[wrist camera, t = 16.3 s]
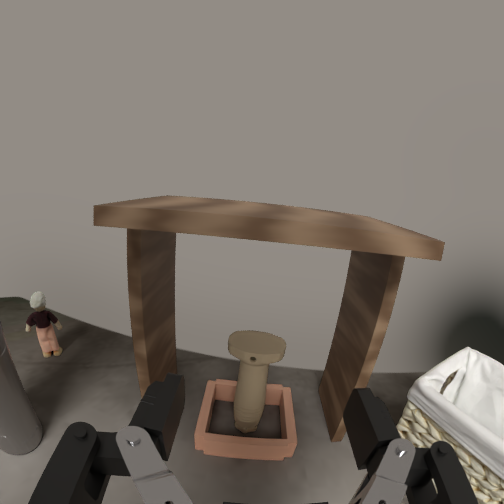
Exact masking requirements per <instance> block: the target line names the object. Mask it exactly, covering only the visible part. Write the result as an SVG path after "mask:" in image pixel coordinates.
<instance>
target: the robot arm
mask: <svg viewBox="0 0 504 504" xmlns="http://www.w3.org/2000/svg"><path fill="white" fill-rule="evenodd" d="M184 404H185V386H184V375H179V374H173V373H167V375H166V377H165V379H164V381H163V382H160V381H155V382H153V383H152V384H151V385H149V386H148V388H147V390H146V392H145V394H144V396H143V398H142V400H141V402H140V404H139V406H138V408H137V410H136V412H135V414H134V416H133V418H132V420H131V422H130V424H129V426H127V427H124V428H122V429H120V430H119V431H118V432H114V433H110V432H97V431H96V430H95V428H94V427H93V426H92V425H90V424H88V423H85V422H76V423H73V424H71V425H70V426H69V427H68V428H67V429H66V431H65V433H64V435H63V436H62V438H61V440H60V442H59V444H58V445H57V447H56V449H55V451H54V453H53V455H52V457H51V458H50V460H49V462H48V464H47V466H46V468H45V470H44V472H43V474H42V476H41V478H40V480H39V482H38V484H37V486H36V488H35V490H34V492H33V494H32V496H31V499H30V501H29V503H28V504H101V503H102V500H103V497H104V494H105V491H106V488H107V485H108V482H109V479H110V476H111V475H117V476H131V477H132V479H133V481H134V483H135V485H136V487H137V489H138V491H139V493H140V495H141V497H142V499H143V501H144V503H145V504H193V502H192V501H191V499H190V498H189V497H188V495H187V494H186V492H185V491H184V489H183V488H182V486H181V485H180V483H179V482H178V480H177V478H176V477H175V475H174V474H173V473H172V472H171V471H169V470H168V468H167V467H166V465H165V463H164V461H163V460H165V461H168V459H169V455H170V452H171V449H172V445H173V442H174V439H175V435H176V432H177V429H178V426H179V422H180V419H181V416H182V413H183V409H184ZM343 421H344V424H345V427H346V431H347V434H348V437H349V440H350V444H351V447H352V450H353V454H354V457H355V460H356V464H357V467H358V470H361V469H367V471H368V473H367V474H366V475H365V477H364V479H363V481H362V482H361V484H360V486H359V488H358V489H357V491H356V493H355V494H354V496H353V498H352V499H351V501H350V502H349V504H401V502H402V500H403V497H404V495H405V492H406V495H407V498H408V502H409V504H479V503H478V500H477V498H476V496H475V493H474V491H473V489H472V486H471V484H470V482H469V480H468V478H467V475H466V473H465V471H464V469H463V467H462V465H461V463H460V461H459V459H458V457H457V455H456V453H455V451H454V449H453V447H452V446H451V445H450V444H449V443H448V442H445V441H436V442H434V443H433V444H432V445H431V447H430V448H418V447H415V446H414V445H413V444H412V443H411V442H410V441H409V440H406V439H402V438H401V436H400V434H399V432H398V430H397V428H396V426H395V424H394V422H393V419H392V418H391V415H390V413H389V412H388V409H387V407H386V405H385V403H384V402H383V401H382V400H380V399H379V398H378V397H374V396H373V394H372V392H371V390H370V388H354V389H353V390H352V393H351V395H350V397H349V400H348V402H347V404H346V406H345V409H344V412H343ZM42 432H43V430H42V425H41V423H40V421H39V419H38V417H37V415H36V413H35V411H34V409H33V407H32V405H31V403H30V400H29V398H28V396H27V394H26V392H25V390H24V387H23V385H22V383H21V380H20V378H19V375H18V373H17V370H16V368H15V365H14V363H13V360H12V357H11V354H10V351H9V348H8V345H7V342H6V339H5V336H4V333H3V329H2V326H1V322H0V448H1V449H2V450H3V451H5V452H7V453H10V454H14V455H21V454H26V453H28V452H31V451H32V450H33V449H35V448H36V447H37V446H38V444H39V443H40V441H41V438H42ZM432 479H433V480H434V483H435V485H436V488H437V492H436V489H435V486H434V484H433V481H432ZM223 504H241V503H230V502H223ZM311 504H328V502H323V503H311Z"/></svg>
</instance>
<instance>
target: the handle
mask: <svg viewBox="0 0 504 504" xmlns="http://www.w3.org/2000/svg"><path fill="white" fill-rule="evenodd" d="M285 349H286V343H285V341H284V340H283V339H282V338H280V337H278V336H275V335H273V334H270V333H265V332H259V331H236V332H234V333H232V334H231V335H230V337H229V340H228V350H229V352H230V354H232V355H233V356H235V357H236V358H238V359H240V368H239V374H238V381H237V386H236V391H235V397H234V418H235V422H234V424H235V428H236V429H239V430H240V431H241V432H242V433H248V432H254V431H256V429H257V427H258V426H257V424H258V423H259V421H260V419H261V416H262V413H263V410H264V405H265V398H266V386H267V376H268V367H269V364H270V363H275V362H279V361H280V360H281V359H282V358H283V357H284V354H285Z"/></svg>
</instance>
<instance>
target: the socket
mask: <svg viewBox="0 0 504 504" xmlns="http://www.w3.org/2000/svg"><path fill="white" fill-rule="evenodd" d="M236 386H237V381H231V380H222V379H216V381H211V380H208V382H207V386H206V390H205V394H204V398H203V402H202V406H201V410H200V414H199V418H198V422H197V426H196V430H195V433H194V437H195V449H197V450H203V451H204V454H207V455H214V456H221V457H230V458H241V459H254V460H283V459H284V457H292V456H293V453H294V451H295V448H296V445H297V435H296V427H295V419H294V411H293V404H292V396H291V389H290V387H282V385H279V384H267V386H266V398H265V405H279V409H280V423H281V437H282V439H266V438H250V437H238V436H228V435H220V434H212V433H208V431H209V426H210V421H211V417H212V412H213V407H214V402H215V400H222V401H231V402H234V397H235V391H236Z"/></svg>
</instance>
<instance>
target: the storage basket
mask: <svg viewBox="0 0 504 504" xmlns="http://www.w3.org/2000/svg"><path fill="white" fill-rule="evenodd" d="M448 376H449V378H448V379H447V377H448ZM446 379H447V382H446V385H445V387H444V388H442V389H441V387H442V385H443V383H444V382H445V381H446ZM407 398H408V399H409V400H408V401H407V403H406V406H405V408H404V410H403V415H402V417H401V418H400V420H399V423H398V424H397V425H396V428H397V430H398V432H399V434H400V436H401V438H402V439H406V440H409V441H410V442H411V443H412V444H413V445H414V446H415V447H418V448H430V447H431V445H432V444H433V443H434V442H436V441H445V442H448V443H449V444H450V445H451V446H452V447H453V449H454V451H455V453H456V455H457V457H458V459H459V461H460V463H461V465H462V467H463V469H464V471H465V473H466V475H467V478H468V480H469V482H470V484H471V486H472V489H473V491H474V493H475V496H476V498H477V500H478V503H479V504H504V365H502V364H501V363H499V362H497V361H496V360H494V359H492V358H490V357H488V356H486V355H484V354H482V353H480V352H478V351H476V350H473V349H471V348H470V347H466V348H465V349H463V350H461V351H459V352H457V353H455V354H454V355H452V356H450V357H449V358H447V359H446V360H444V361H443V362H441V363H439V364H438V365H436V366H435V367H434V368H432V369H431V370H429V371H428V372H427V373H425V374H424V375H422V376H421V377H419V378H418V379H417V380H415V382H414V384H413V385H412V387H411V388H410V389H409V391H408V394H407ZM432 481H433V484H434V486H435V489H436V492H437V488H436V485H435V483H434V480H433V479H432Z"/></svg>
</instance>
